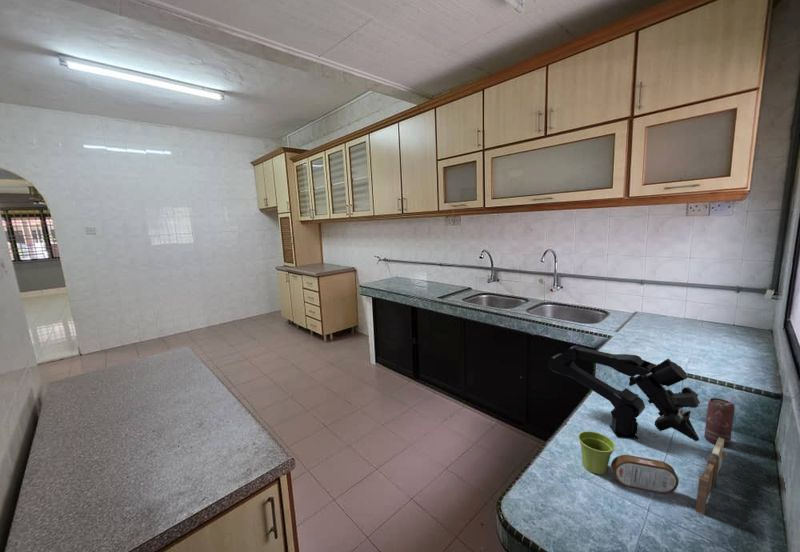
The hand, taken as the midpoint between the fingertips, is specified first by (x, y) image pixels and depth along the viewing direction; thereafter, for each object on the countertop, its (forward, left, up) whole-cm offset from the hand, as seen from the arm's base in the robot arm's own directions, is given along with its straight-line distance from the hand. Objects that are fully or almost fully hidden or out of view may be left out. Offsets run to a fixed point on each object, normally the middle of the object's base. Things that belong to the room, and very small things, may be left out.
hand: (697, 440), depth 98 cm
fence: (-7, -16, -7) cm, 19 cm away
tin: (-20, -14, -7) cm, 26 cm away
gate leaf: (+2, -6, -7) cm, 9 cm away
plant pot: (-30, -8, -7) cm, 32 cm away
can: (+14, +12, -7) cm, 20 cm away
